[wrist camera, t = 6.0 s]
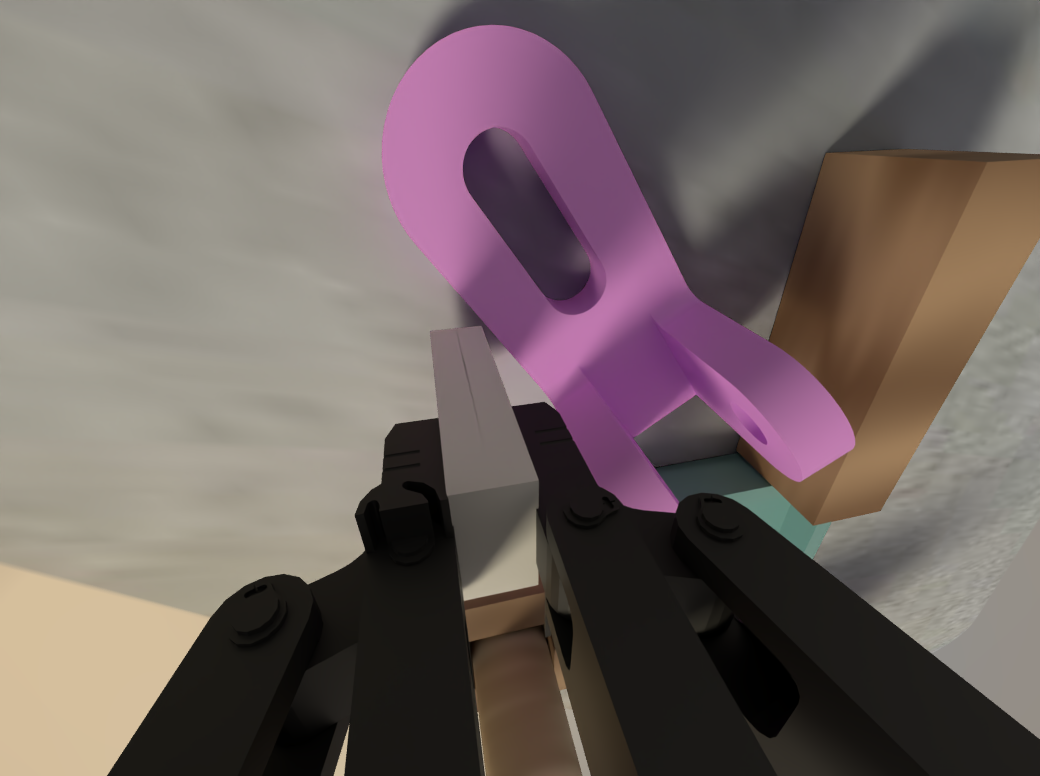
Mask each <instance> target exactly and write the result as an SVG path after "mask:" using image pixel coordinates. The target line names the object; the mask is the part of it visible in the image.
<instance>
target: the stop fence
mask: <svg viewBox="0 0 1040 776" xmlns="http://www.w3.org/2000/svg"><path fill="white" fill-rule="evenodd" d="M1039 238H1040V154H1018V153H993V152H968V151H942V150H917V149H895V150H875V151H855V152H835V153H826V154H825V157H824V161H823V164H822V167H821V171H820V174H819V177H818V181H817V184H816V187H815V190H814V194H813V197H812V200H811V204H810V207H809V210H808V214H807V217H806V220H805V224H804V227H803V230H802V233H801V237H800V240H799V243H798V247H797V250H796V253H795V257H794V260H793V263H792V267H791V270H790V273H789V277H788V280H787V283H786V286H785V290H784V293H783V296H782V300H781V303H780V306H779V310H778V313H777V316H776V320H775V323H774V326H773V329H772V333H771V336H770V339H769V342H770V343H772V344H774V345H776V346H777V347H779V348H780V349H782V350H783V351H785V352H786V353H788V354H789V355H790V356H791V357H793V358H794V359H795V360H796V361H798V362H799V363H800V364H801V365H802V366H803V367H805V368H806V369H807V370H808V371H809V372H810V373H811V374H812V375H813V376H814V377H815V378H816V379H817V380H818V381H819V382H820V383H821V384H822V386H823V387H824V388H825V389H826V390H827V391H828V392H829V394H830V395H831V396H832V397H833V399H834V400H835V401H836V403H837V404H838V405H839V407H840V408H841V410H842V411H843V413H844V414H845V416H846V418H847V419H848V421H849V423H850V425H851V428H852V430H853V433H854V436H855V446H854V448H853V449H852V450H851V451H849V452H848V453H846V454H844V455H843V456H841V457H840V458H838V459H836V460H835V461H833V462H832V463H830V464H828V465H827V466H825V467H824V468H822V469H820V470H819V471H817V472H815V473H814V474H812V475H811V476H809V477H807V478H806V479H804V480H803V481H801V482H797V481H794V480H792V479H790V478H788V477H787V476H785V475H784V474H783V473H781V472H780V471H779V470H777V469H776V468H775V467H774V466H773V465H772V464H770V463H769V462H768V461H767V460H766V459H765V458H764V457H763V456H762V455H761V454H760V453H759V452H757V451H756V450H755V449H754V448H753V447H752V446H751V445H750V444H749V443H748V442H747V441H746V440H745V439H743V438H742V437H741V436H740V439H739V442H738V445H737V449H736V451H737V452H738V453H739V454H740V455H741V456H743V457H744V458H745V459H746V460H747V461H748V462H749V463H750V464H751V465H752V466H753V467H754V468H755V469H756V470H757V471H758V472H759V473H760V474H761V475H762V476H763V477H764V478H765V479H766V480H767V481H768V482H769V483H770V484H771V485H772V486H773V487H774V488H775V489H776V490H777V491H778V492H779V493H780V494H781V495H782V496H783V497H784V498H785V499H786V500H787V501H788V502H789V503H790V504H791V505H792V506H793V507H794V508H795V509H796V510H797V511H798V512H799V513H800V514H801V515H802V516H804V517H805V518H806V519H807V520H808V521H809V522H810V523H811V524H812V525H813V526H815V525H819V524H824V523H828V522H833V521H837V520H842V519H846V518H851V517H855V516H860V515H864V514H869V513H874V512H878V511H881V509H882V507H883V506H884V504H885V502H886V500H887V499H888V497H889V495H890V494H891V492H892V490H893V488H894V487H895V485H896V483H897V482H898V480H899V478H900V476H901V475H902V473H903V471H904V470H905V468H906V466H907V464H908V463H909V461H910V459H911V458H912V456H913V454H914V452H915V451H916V449H917V447H918V446H919V444H920V442H921V440H922V439H923V437H924V435H925V434H926V432H927V430H928V428H929V427H930V425H931V423H932V422H933V420H934V418H935V416H936V415H937V413H938V411H939V410H940V408H941V406H942V404H943V403H944V401H945V399H946V398H947V396H948V394H949V392H950V391H951V389H952V387H953V386H954V384H955V382H956V380H957V379H958V377H959V375H960V374H961V372H962V370H963V368H964V367H965V365H966V363H967V362H968V360H969V358H970V356H971V355H972V353H973V351H974V350H975V348H976V346H977V344H978V343H979V341H980V339H981V338H982V336H983V334H984V333H985V331H986V329H987V327H988V326H989V324H990V322H991V321H992V319H993V317H994V315H995V314H996V312H997V310H998V309H999V307H1000V305H1001V303H1002V302H1003V300H1004V298H1005V297H1006V295H1007V293H1008V291H1009V290H1010V288H1011V286H1012V285H1013V283H1014V281H1015V279H1016V278H1017V276H1018V274H1019V273H1020V271H1021V269H1022V267H1023V266H1024V264H1025V262H1026V261H1027V259H1028V257H1029V255H1030V254H1031V252H1032V250H1033V249H1034V247H1035V245H1036V243H1037V242H1038V240H1039Z"/></svg>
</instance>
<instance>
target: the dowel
mask: <svg viewBox="0 0 1040 776" xmlns="http://www.w3.org/2000/svg"><path fill="white" fill-rule="evenodd" d="M470 644H471V652H472V661H473V669H474V678H475V686H476V695H477V703H478V712H479V720H480V729H481V736H482V746H483V754H484V763H485V770H486V776H582V772H581V769H580V765H579V761H578V757H577V754H576V750H575V746H574V743H573V739H572V735H571V731H570V728H569V724H568V720H567V716H566V713H565V709H564V705H563V701H562V697H561V694H560V690H559V686H558V682H557V679H556V675H555V671H554V667H553V664H552V660H551V656H550V652H549V649H548V645H547V641H546V637H545V634H544V630H543V626H542V625H538V626H534V627H530V628H525V629H521V630H517V631H513V632H508V633H504V634H500V635H496V636H491V637H487V638H483V639H479V640H475V641H470Z"/></svg>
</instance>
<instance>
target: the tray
mask: <svg viewBox="0 0 1040 776" xmlns="http://www.w3.org/2000/svg"><path fill="white" fill-rule="evenodd" d="M655 469H656V471H657V472H658V473H659V475H660V476H661V478H662V479H663V480H664V482H665V483H666V484H667V486H668V487H669V489H670V490H671V491H672V493H673V494H674V496H675V497H676V498H677V500H678V501H679V502H681V501H682V500H683V499H684V498H686V497H687V496H689V495H693V494H698V493H712V494H719V495H722V496H725V497H728V498H731V499H734V500H735V501H737V502H738V503H740V504H742V505H743V506H745V507H747V508H748V509H749V510H751V511H752V512H753V513H755V514H756V515H757V516H758V517H760V518H761V519H762V520H763V521H765V522H766V523H767V524H768V525H770V526H771V527H772V528H773V529H775V530H776V531H777V532H779V533H780V534H781V535H782V536H784V537H785V538H786V539H787V540H789V541H790V542H791V543H792V544H794V545H795V546H796V547H797V548H799V549H800V550H801V551H803V552H804V553H805V554H806V555H808V556H809V557H810V558H811V559H813V558H814V556H815V554H816V552H817V550H818V548H819V546H820V544H821V542H822V540H823V538H824V536H825V534H826V532H827V530H828V528H829V526H830V524H831V522H828V523H824V524H819V525H815V526H813V525H812V524H811V523H810V522H809V521H808V520H807V519H806V518H805V517H804V516H802V515H801V514H800V513H799V512H798V511H797V510H796V509H795V508H794V507H793V506H792V505H791V504H790V503H789V502H788V501H787V500H786V499H785V498H784V497H783V496H782V495H781V494H780V493H779V492H778V491H777V490H776V489H775V488H774V487H773V486H772V485H771V484H770V483H769V482H768V481H767V480H766V479H765V478H764V477H763V476H762V475H761V474H760V473H759V472H758V471H757V470H756V469H755V468H754V467H753V466H752V465H751V464H750V463H749V462H748V461H747V460H746V459H745V458H744V457H743V456H741V455H740V454H739V453H735V454H730V455H724V456H719V457H713V458H707V459H702V460H696V461H691V462H685V463H680V464H674V465H669V466H663V467H658V468H655Z"/></svg>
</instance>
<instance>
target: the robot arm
mask: <svg viewBox="0 0 1040 776" xmlns="http://www.w3.org/2000/svg"><path fill="white" fill-rule="evenodd" d="M430 337H431V347H432V357H433V367H434V377H435V387H436V397H437V407H438V417H439V418H435V419H428V420H421V421H413V422H406V423H399V424H395V425H394V427H393V428H392V430H391V431H390V433H389V434H388V435H387V437H386V438H385V445H384V458H383V472H382V483H381V484H380V485H379V486H377V487H375V488H374V489H372V490H371V491H370V492H369V493H368V494H367V495H366V496H365V497H364V498H363V499H362V500H361V501H360V503H359V506H358V508H357V511H356V513H355V518H356V521H357V525H358V528H359V531H360V534H361V537H362V541H363V544H364V547H365V551H364V552H363V554H362V555H360V556H359V557H358V558H357V559H355V560H354V561H353V562H352V563H350V564H349V565H347V566H345V567H343V568H342V569H340V570H338V571H336V572H334V573H332V574H330V575H328V576H325V577H323V578H321V579H319V580H317V581H315V582H313V583H310V584H306V583H305V582H304V581H303V580H302V579H301V578H300V577H296V576H291V575H286V574H281V575H275V576H268V577H264V578H262V579H259V580H257V581H255V582H253V583H250V584H248V585H246V586H244V587H243V588H241V589H240V590H239V591H237V592H236V593H235V594H233V595H232V596H231V597H229V598H228V599H226V600H225V601H224V603H223V604H222V605H221V606H220V607H219V608H218V610H217V611H216V612H215V613H214V614H213V615H212V617H211V618H210V619H209V621H208V622H207V624H206V625H205V627H204V628H203V630H202V632H201V633H200V635H199V636H198V638H197V639H196V641H195V642H194V644H193V645H192V647H191V649H190V650H189V651H188V653H187V655H186V656H185V658H184V659H183V661H182V662H181V664H180V665H179V667H178V668H177V670H176V671H175V673H174V674H173V676H172V678H171V679H170V681H169V682H168V684H167V685H166V687H165V688H164V690H163V691H162V693H161V694H160V696H159V697H158V699H157V700H156V702H155V703H154V705H153V706H152V708H151V709H150V711H149V713H148V714H147V716H146V717H145V719H144V720H143V722H142V723H141V725H140V726H139V728H138V729H137V731H136V733H135V734H134V735H133V737H132V739H131V740H130V742H129V743H128V745H127V747H126V748H125V749H124V751H123V752H122V754H121V755H120V757H119V758H118V760H117V761H116V763H115V764H114V766H113V768H112V769H111V771H110V772H109V774H108V775H107V776H333V775H334V772H335V769H336V766H337V762H338V759H339V755H340V752H341V749H342V746H343V743H344V739H345V736H346V733H347V729H348V726H349V734H348V745H347V754H346V764H345V774H344V776H485V772H484V765H483V756H482V747H481V738H480V731H479V722H478V714H477V705H476V696H475V688H474V679H473V671H472V662H471V654H470V645H469V637H468V629H467V622H466V615H465V607H464V601H466V600H470V599H475V598H480V597H484V596H489V595H494V594H498V593H503V592H508V591H513V590H517V589H522V588H527V587H531V586H536V585H538V571H539V574H540V578H541V581H542V585H543V588H544V591H545V617H544V627H545V637H548V636H551V635H552V638H553V642H554V645H555V649H556V652H557V656H558V660H559V663H560V667H561V670H562V674H563V677H564V681H565V685H566V688H567V692H568V695H569V699H570V702H571V706H572V710H573V713H574V717H575V720H576V724H577V727H578V731H579V735H580V738H581V742H582V745H583V748H584V752H585V756H586V760H587V763H588V767H589V770H590V774H591V776H1040V739H1039V738H1037V737H1036V736H1035V735H1034V734H1032V733H1031V732H1030V731H1028V730H1027V729H1026V728H1025V727H1023V726H1022V725H1021V724H1019V723H1018V722H1017V721H1016V720H1015V719H1013V718H1012V717H1011V716H1010V715H1008V714H1007V713H1006V712H1004V711H1003V710H1002V709H1001V708H999V707H998V706H997V705H996V704H994V703H993V702H992V701H991V700H989V699H988V698H987V697H985V696H984V695H983V694H982V693H981V692H979V691H978V690H977V689H975V688H974V687H973V686H972V685H970V684H969V683H968V682H966V681H965V680H964V679H963V678H962V677H960V676H959V675H958V674H957V673H955V672H954V671H953V670H951V669H950V668H949V667H948V666H946V665H945V664H944V663H942V662H941V661H940V660H939V659H938V658H936V657H935V656H934V655H932V654H931V653H930V652H929V651H927V650H926V649H925V648H924V647H922V646H921V645H920V644H919V643H917V642H916V641H915V640H914V639H912V638H911V637H910V636H909V635H907V634H906V633H905V632H904V631H902V630H901V629H900V628H898V627H897V626H896V625H895V624H893V623H892V622H891V621H890V620H888V619H887V618H886V617H885V616H883V615H882V614H881V613H880V612H878V611H877V610H876V609H874V608H873V607H872V606H871V605H869V604H868V603H867V602H866V601H864V600H863V599H862V598H861V597H859V596H858V595H857V594H856V593H854V592H853V591H852V590H850V589H849V588H848V587H847V586H845V585H844V584H843V583H842V582H840V581H839V580H838V579H837V578H835V577H834V576H833V575H832V574H830V573H829V572H828V571H827V570H825V569H824V568H823V567H821V566H820V565H819V564H818V563H816V562H815V561H814V560H813V559H811V558H810V557H809V556H808V555H806V554H805V553H804V552H803V551H801V550H800V549H799V548H797V547H796V546H795V545H794V544H792V543H791V542H790V541H789V540H787V539H786V538H785V537H784V536H782V535H781V534H780V533H779V532H777V531H776V530H775V529H773V528H772V527H771V526H770V525H768V524H767V523H766V522H765V521H763V520H762V519H761V518H760V517H758V516H757V515H756V514H755V513H753V512H752V511H751V510H749V509H748V508H747V507H745V506H743V505H742V504H740V503H738V502H737V501H735V500H734V499H731V498H728V497H725V496H722V495H719V494H712V493H698V494H693V495H689V496H687V497H686V498H684V499H683V500H682V501H681V502H679V504H678V507H677V510H676V513H671V512H659V511H647V510H640V509H634V508H630V507H627V506H624V505H623V504H622V503H621V502H620V500H619V499H618V498H617V497H616V496H615V495H614V494H612V493H611V492H609V491H607V490H606V489H604V488H602V487H599V486H598V484H597V483H596V481H595V479H594V477H593V475H592V473H591V471H590V470H589V468H588V466H587V464H586V462H585V460H584V458H583V456H582V454H581V453H580V451H579V449H578V447H577V445H576V443H575V441H573V438H572V436H571V434H570V432H569V430H568V429H567V426H566V424H565V423H564V421H563V419H562V417H561V415H560V413H559V412H558V411H556V410H555V409H554V408H552V407H551V406H550V405H548V404H547V403H545V402H540V403H533V404H526V405H519V406H511V404H510V401H509V399H508V396H507V393H506V390H505V388H504V385H503V382H502V380H501V377H500V374H499V372H498V369H497V366H496V363H495V361H494V358H493V355H492V353H491V350H490V347H489V345H488V342H487V339H486V336H485V334H484V331H483V328H482V326H474V327H464V328H454V329H445V330H435V331H430ZM349 723H350V724H349Z"/></svg>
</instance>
